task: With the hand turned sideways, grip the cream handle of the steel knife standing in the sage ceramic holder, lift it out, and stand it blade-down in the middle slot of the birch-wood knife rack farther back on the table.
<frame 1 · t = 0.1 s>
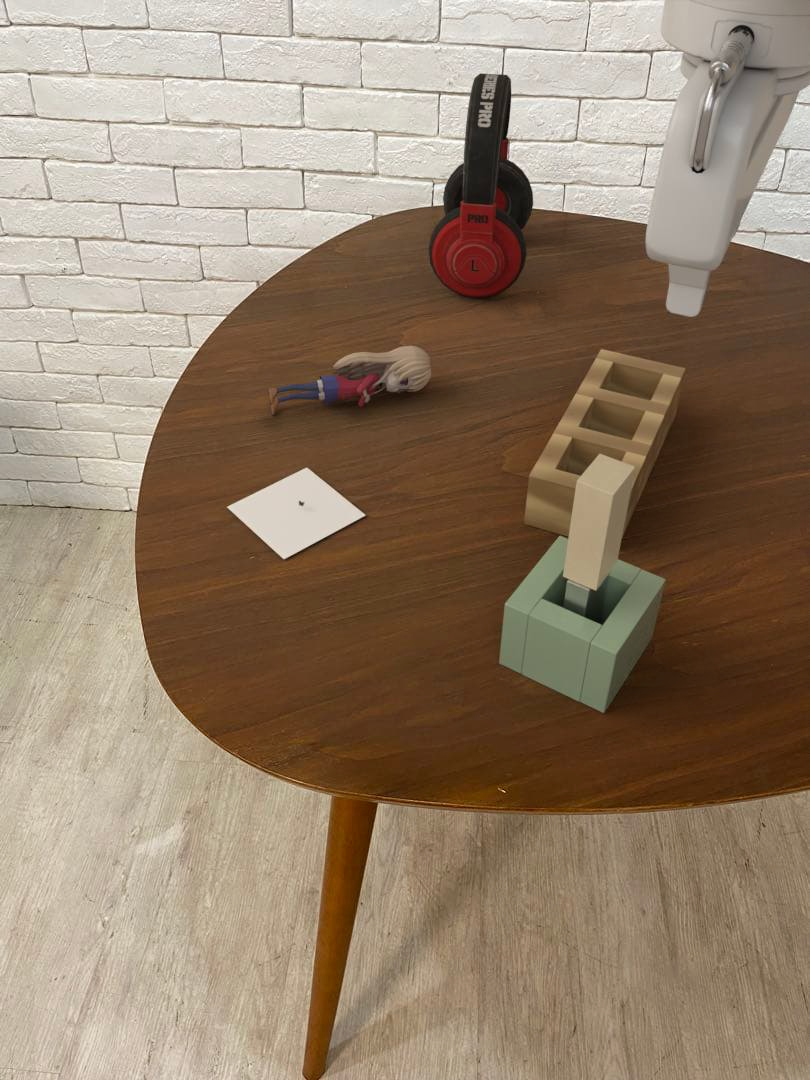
hand: (703, 269, 59), 27 cm above the table, tool pointing down, fingers open, 8 cm apart
rack: (604, 466, 89), on the table
figurine: (350, 401, 96), on the table
knife: (590, 569, 68), in the holder
holder: (576, 651, 74), on the table
white flat sheet: (296, 513, 84), on the table
headphones: (480, 270, 115), on the table
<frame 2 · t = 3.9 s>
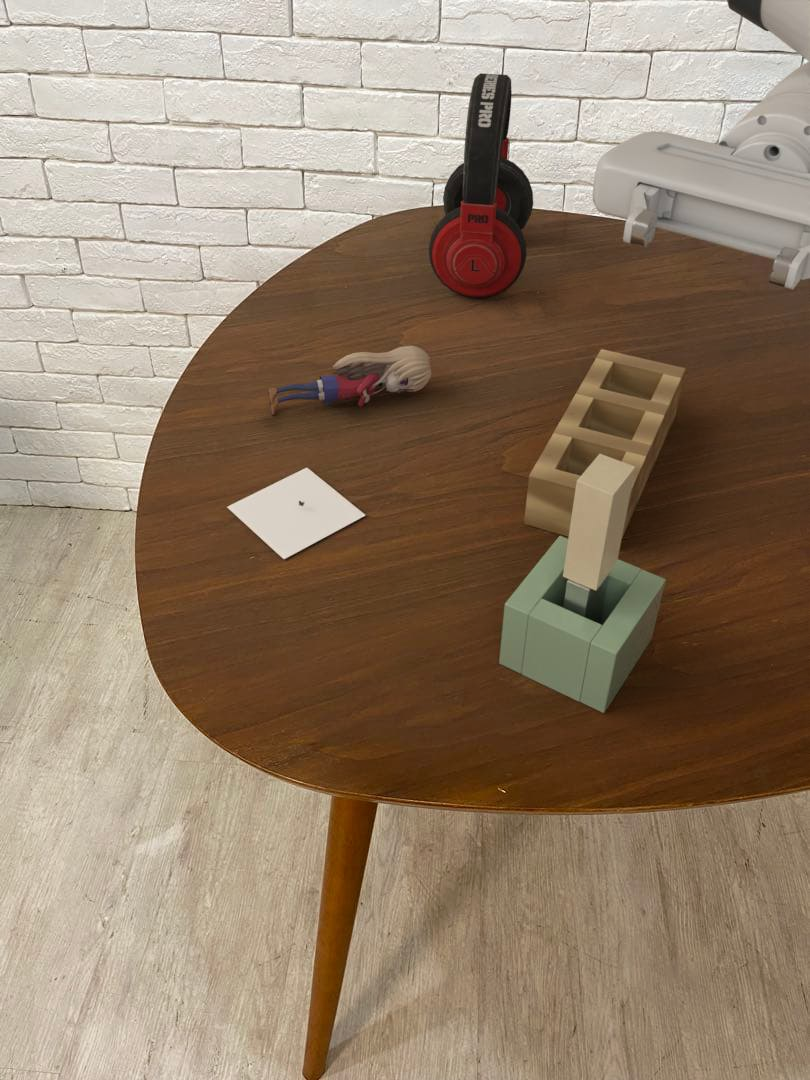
hand: (706, 254, 64), 25 cm above the table, tool horizontal, fingers open, 8 cm apart
nothing on the table moved.
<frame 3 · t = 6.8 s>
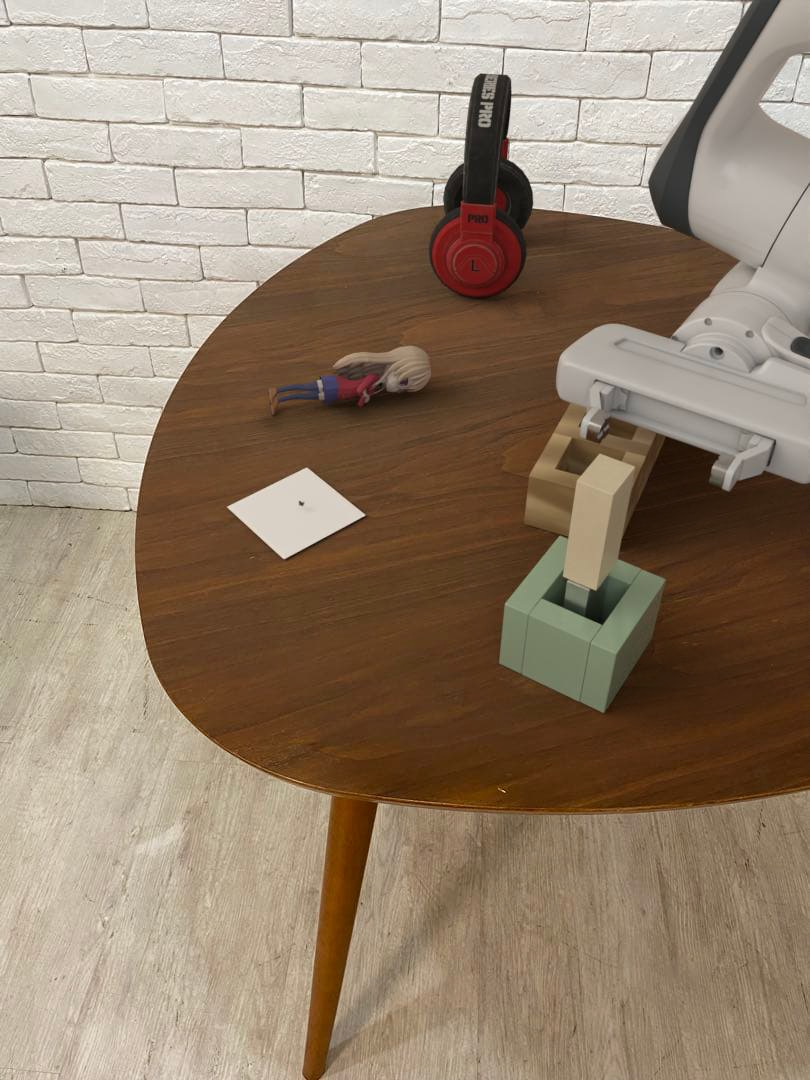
hand: (653, 456, 71), 12 cm above the table, tool horizontal, fingers open, 8 cm apart
nothing on the table moved.
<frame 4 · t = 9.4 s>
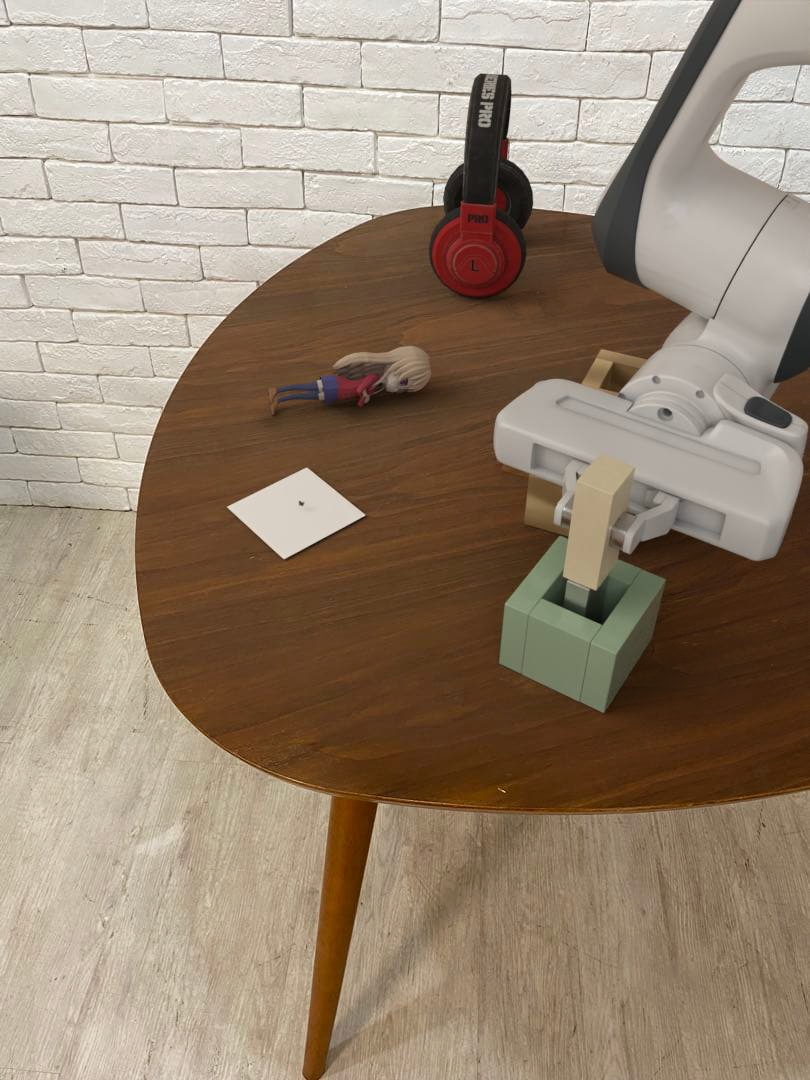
hand: (592, 531, 65), 12 cm above the table, tool horizontal, fingers closed on knife, 2 cm apart
knife: (590, 569, 68), in the holder, touching gripper
everything else where it was.
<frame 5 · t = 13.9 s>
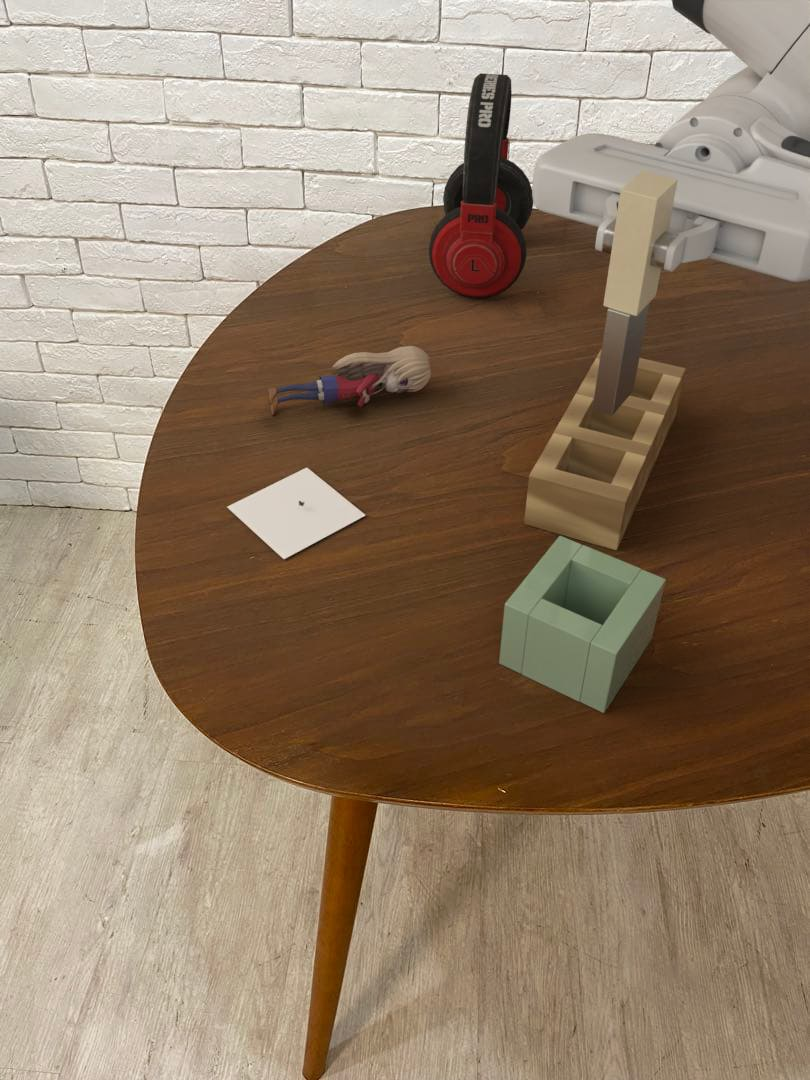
hand: (633, 250, 66), 24 cm above the table, tool horizontal, fingers closed on knife, 2 cm apart
knife: (629, 300, 69), point 20 cm above the table, touching gripper
everything else where it was.
when the fingers open (12 cm above the table, at t = 18.4 s): knife stays where it is, resting in rack.
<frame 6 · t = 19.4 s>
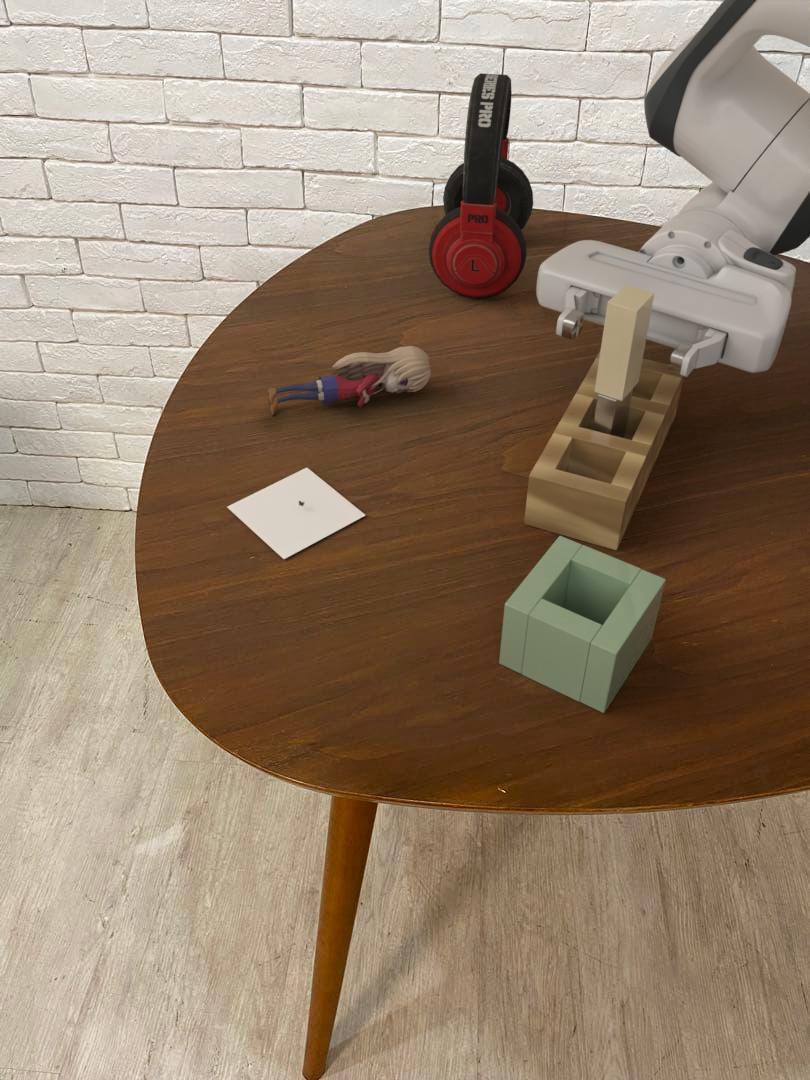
hand: (620, 347, 80), 12 cm above the table, tool horizontal, fingers open, 8 cm apart
knife: (616, 386, 84), in the rack
everything else where it was.
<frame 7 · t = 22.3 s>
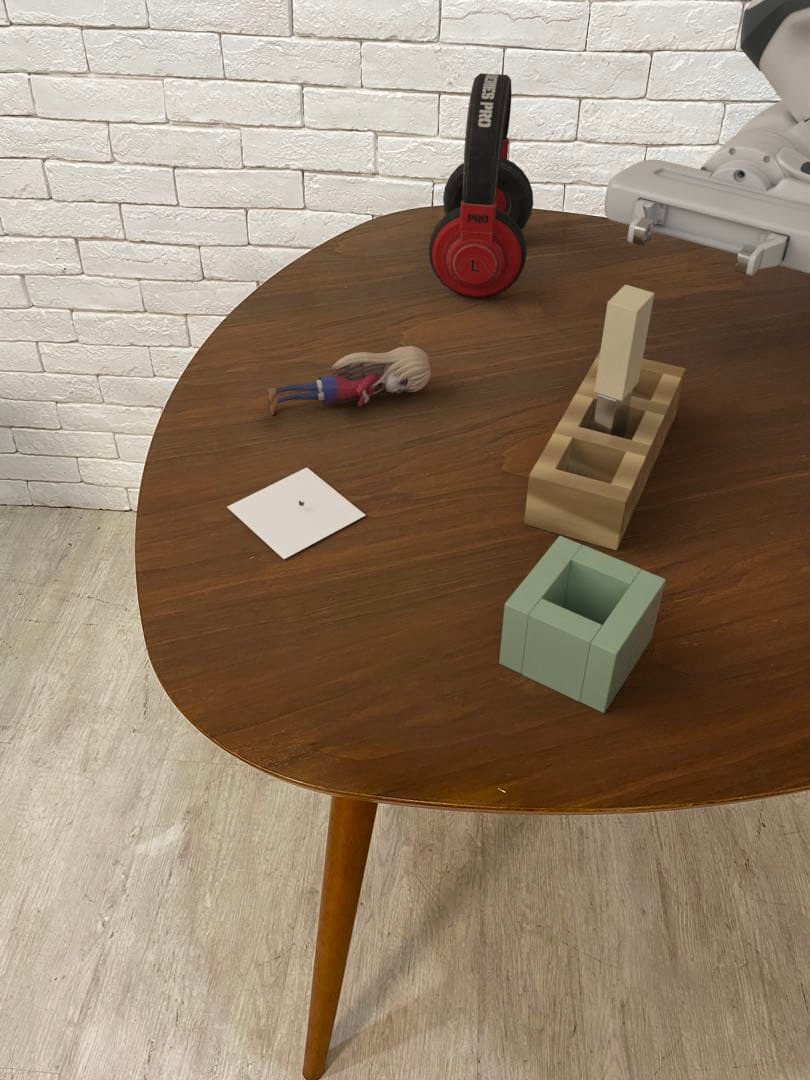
hand: (689, 250, 86), 15 cm above the table, tool horizontal, fingers open, 8 cm apart
nothing on the table moved.
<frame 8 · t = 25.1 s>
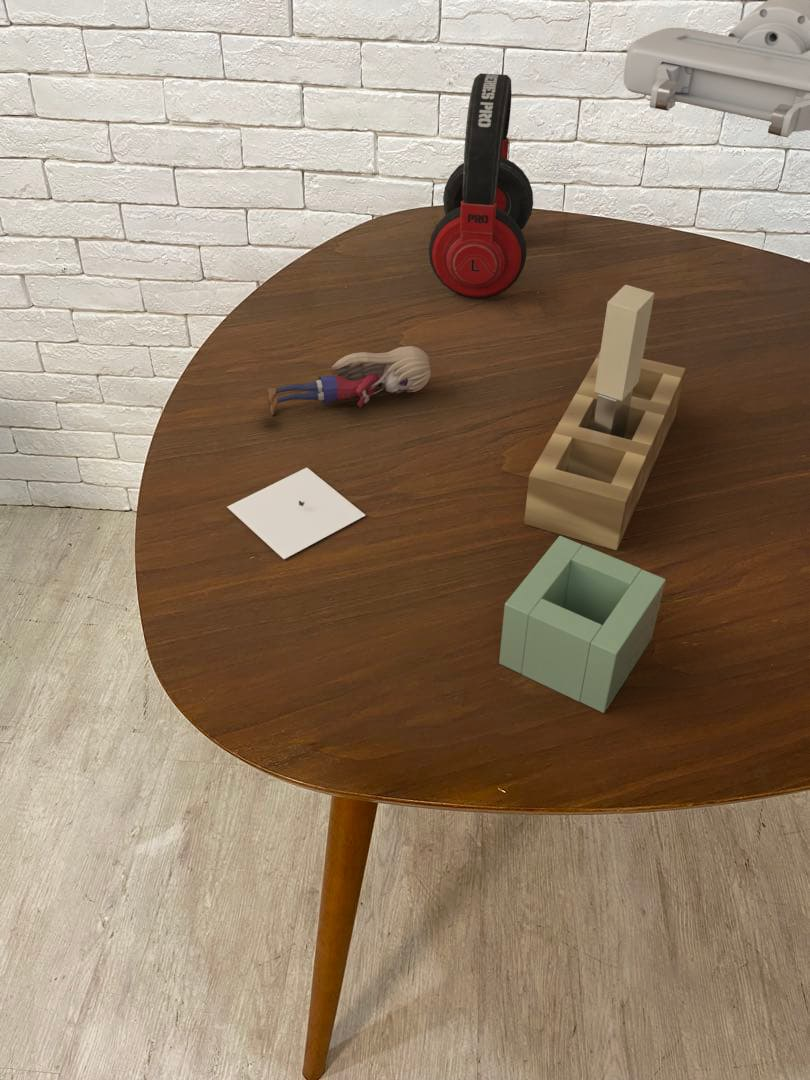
hand: (717, 111, 79), 26 cm above the table, tool horizontal, fingers open, 8 cm apart
nothing on the table moved.
at the end: knife 0.1 cm off-centre in the rack, point 8.0 cm above the rack's base; knife tilted 0°; the gripper is holding nothing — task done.
